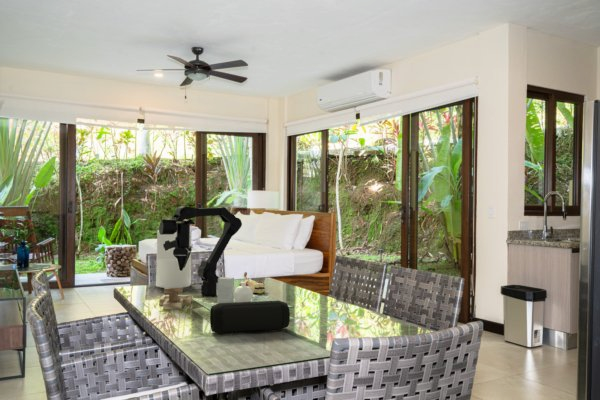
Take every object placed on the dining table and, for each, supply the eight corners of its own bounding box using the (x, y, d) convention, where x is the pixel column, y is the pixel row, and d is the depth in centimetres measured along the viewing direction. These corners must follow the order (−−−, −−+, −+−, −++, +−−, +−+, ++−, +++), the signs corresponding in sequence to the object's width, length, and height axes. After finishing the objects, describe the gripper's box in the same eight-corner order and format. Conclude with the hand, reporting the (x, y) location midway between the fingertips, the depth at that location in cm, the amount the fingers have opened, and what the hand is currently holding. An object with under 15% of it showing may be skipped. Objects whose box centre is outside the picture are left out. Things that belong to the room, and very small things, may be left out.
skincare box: (233, 306, 204) (234, 277, 204) (231, 308, 200) (232, 279, 200) (219, 305, 205) (220, 276, 205) (216, 307, 201) (217, 278, 201)
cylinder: (153, 283, 257) (154, 229, 257) (186, 281, 264) (187, 229, 264) (158, 288, 241) (160, 231, 241) (193, 287, 248) (195, 231, 249)
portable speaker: (281, 326, 173) (282, 297, 174) (290, 333, 164) (291, 303, 164) (209, 330, 165) (210, 300, 165) (214, 338, 156) (214, 306, 156)
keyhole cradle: (191, 300, 214) (192, 295, 214) (187, 309, 196) (187, 303, 196) (162, 300, 212) (162, 295, 212) (155, 309, 195) (156, 303, 195)
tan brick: (182, 306, 201) (182, 287, 201) (181, 307, 198) (181, 289, 198) (164, 306, 200) (165, 287, 200) (163, 307, 197) (164, 289, 197)
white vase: (249, 315, 188) (249, 284, 188) (230, 314, 189) (230, 283, 189) (254, 311, 195) (255, 281, 195) (236, 310, 197) (237, 280, 197)
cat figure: (235, 289, 252) (250, 294, 229) (235, 272, 253) (250, 275, 230) (253, 288, 256) (270, 292, 233) (253, 271, 257) (270, 274, 234)
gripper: (167, 232, 228) (166, 266, 228) (161, 235, 210) (160, 271, 210) (192, 233, 230) (191, 266, 229) (188, 235, 211) (187, 272, 211)
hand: (182, 269), depth 220 cm, fingers open, 9 cm apart
